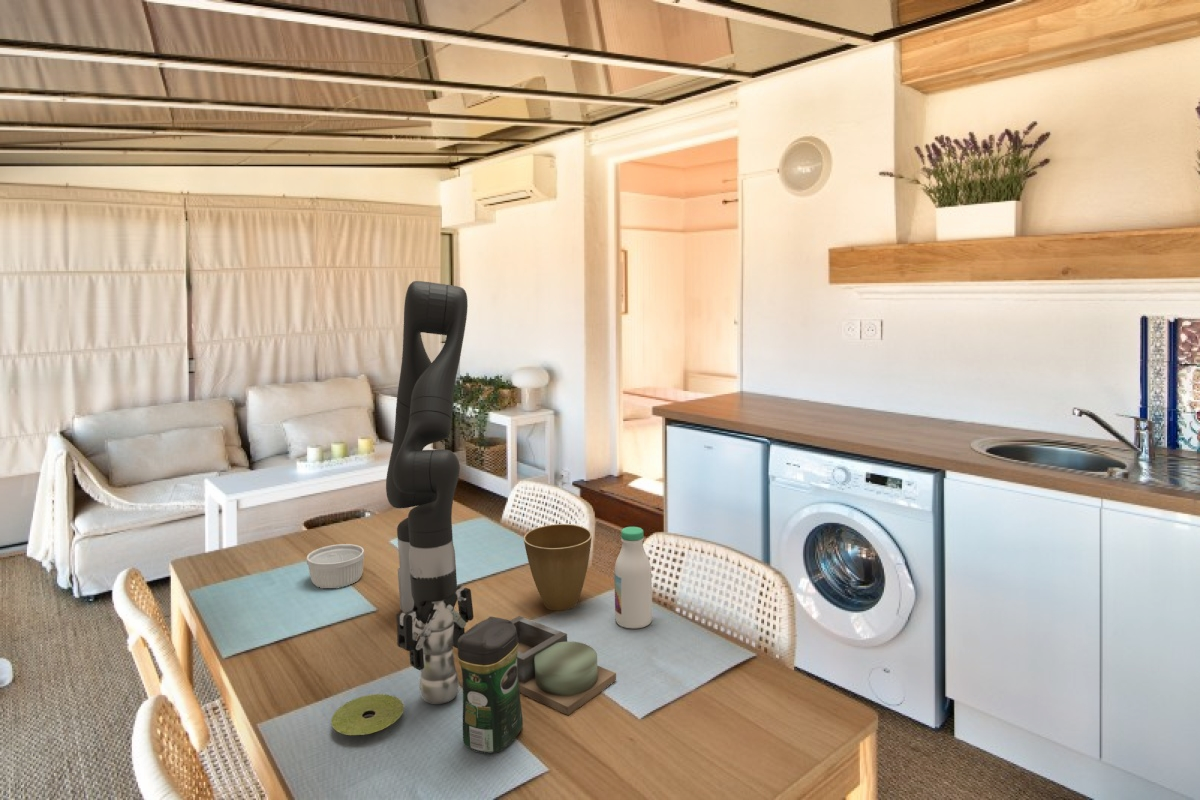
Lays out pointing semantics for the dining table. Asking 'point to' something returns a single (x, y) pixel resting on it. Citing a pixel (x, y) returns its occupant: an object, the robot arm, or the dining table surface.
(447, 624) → the plastic bottle
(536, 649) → the stand
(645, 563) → the milk bottle
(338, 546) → the ramekin
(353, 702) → the green sanding disc
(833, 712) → the dining table surface
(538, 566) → the plant pot
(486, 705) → the coffee jar
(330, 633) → the dining table surface
